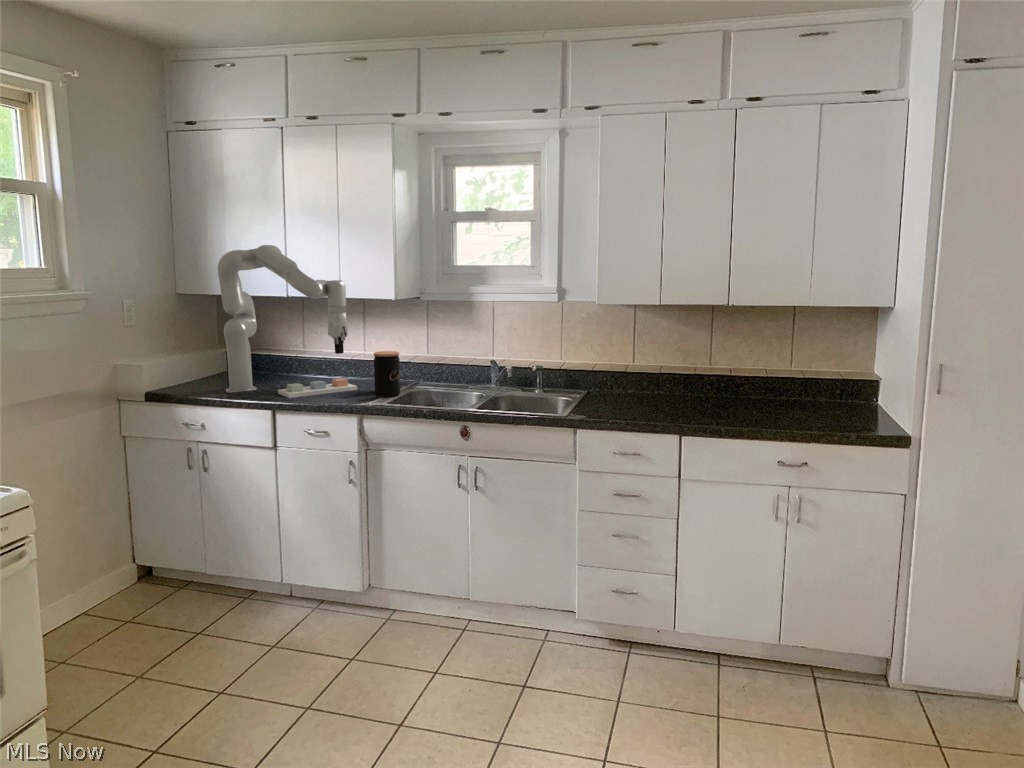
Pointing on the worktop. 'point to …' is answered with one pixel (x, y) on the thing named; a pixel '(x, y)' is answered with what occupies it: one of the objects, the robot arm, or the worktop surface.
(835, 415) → the worktop surface
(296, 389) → the sage button
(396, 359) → the coffee jar
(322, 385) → the slate button
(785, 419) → the worktop surface
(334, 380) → the terracotta button
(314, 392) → the button panel
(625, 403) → the worktop surface
